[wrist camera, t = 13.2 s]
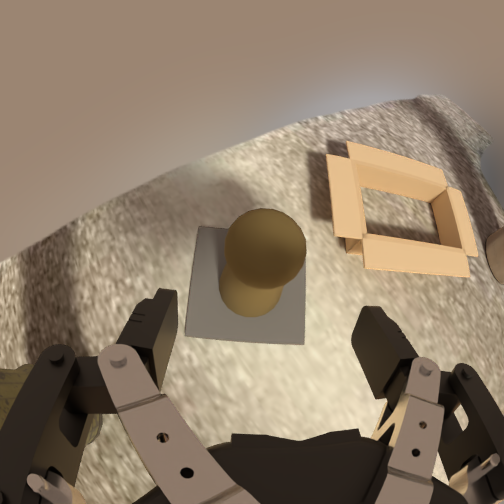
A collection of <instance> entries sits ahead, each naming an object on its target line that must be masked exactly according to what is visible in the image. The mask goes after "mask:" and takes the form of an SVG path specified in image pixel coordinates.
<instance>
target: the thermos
mask: <svg viewBox="0 0 504 504" xmlns="http://www.w3.org/2000/svg"><path fill="white" fill-rule="evenodd" d="M33 367H34V365H32V364H24V365H22V366H20V367H19V368H17V369H15V370H12V369H0V430H1V428H2V426H3V423H4V421H5V419H6V417H7V415H8V413H9V411H10V409H11V407H12V405H13V403H14V401H15V399H16V397H17V395H18V393H19V391H20V389H21V388H22V386H23V384H24V382H25V380H26V379H27V377H28V375H29V373H30V372H31V370H32V368H33ZM101 427H102V414H95V415H94V418H93V421H92V424H91V427H90V430H89V434H88V437H87V440H86V444H85V446H86V445H87V444H90V443H92V442H93V441H94V440H95V439H96V438H97V437H98V435H99V434H100V430H101ZM84 448H85V447H84Z"/></svg>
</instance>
